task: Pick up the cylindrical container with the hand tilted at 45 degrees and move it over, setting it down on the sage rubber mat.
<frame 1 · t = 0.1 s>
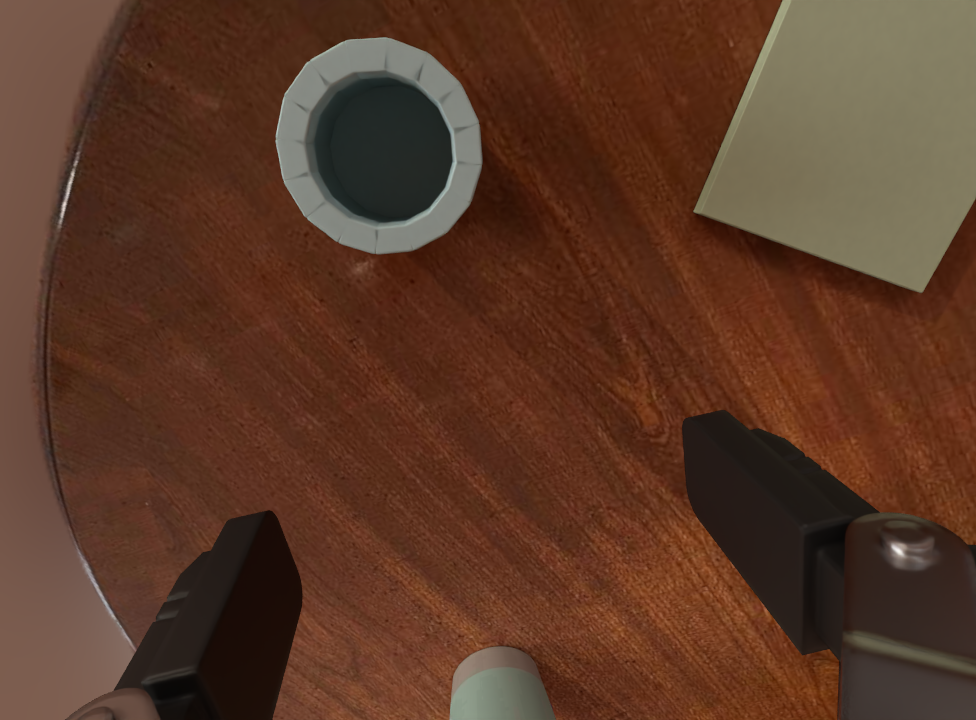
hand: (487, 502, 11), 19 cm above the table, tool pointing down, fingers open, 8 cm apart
mat: (904, 54, 27), on the table
coffee cup: (495, 676, 38), on the table
cylindrical container: (394, 153, 26), on the table
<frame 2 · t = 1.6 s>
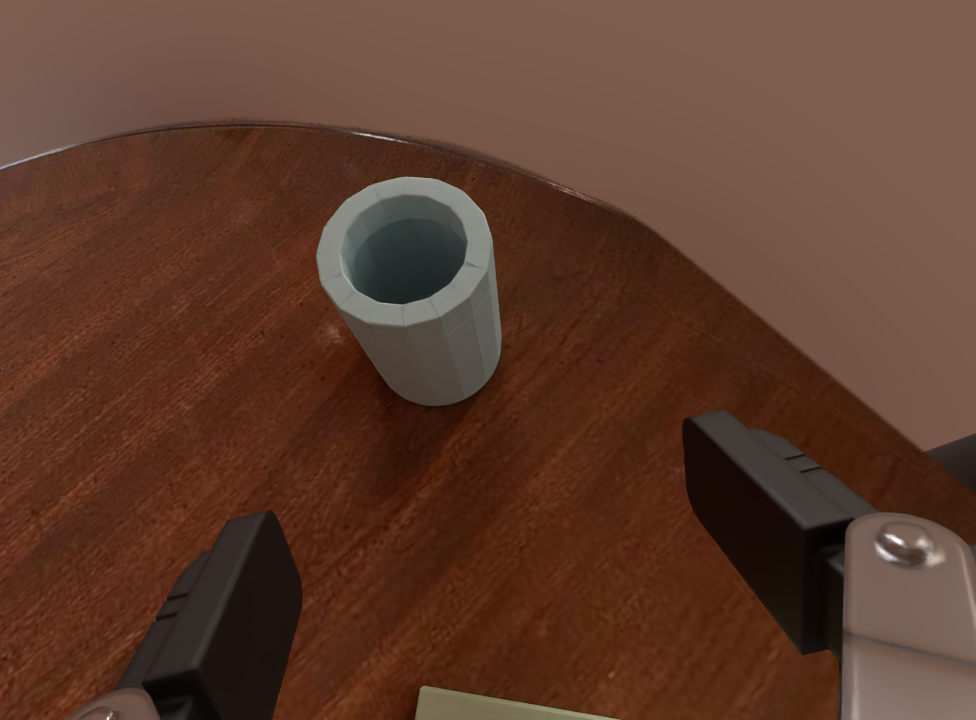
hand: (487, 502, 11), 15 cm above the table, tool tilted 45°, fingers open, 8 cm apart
cylindrical container: (438, 346, 29), on the table
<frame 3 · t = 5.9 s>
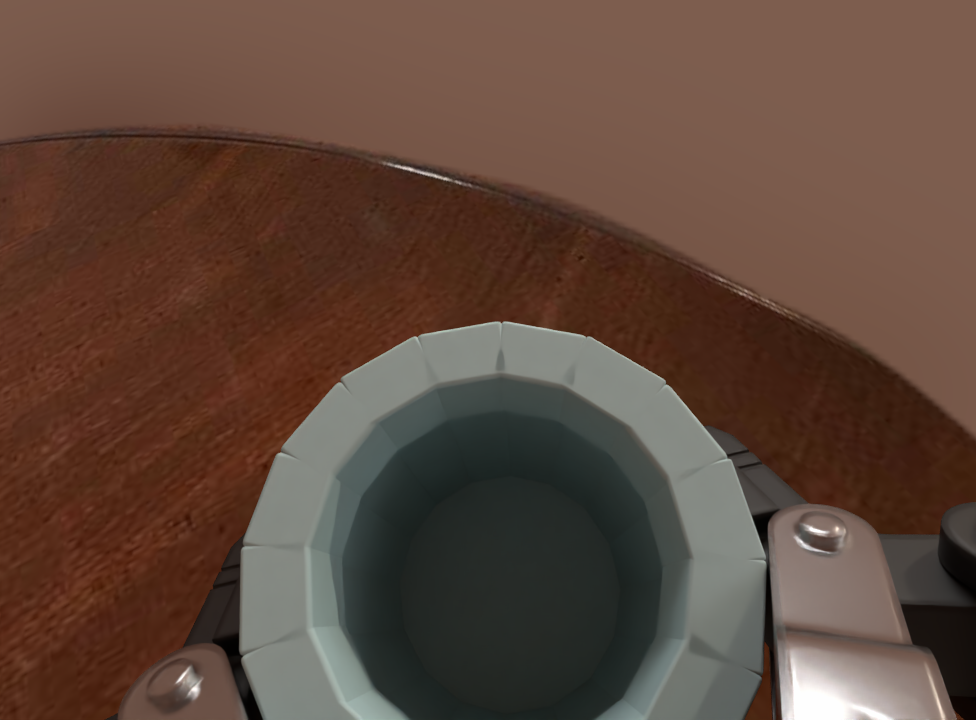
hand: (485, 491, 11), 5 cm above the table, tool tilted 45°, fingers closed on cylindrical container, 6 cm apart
cylindrical container: (509, 586, 15), on the table, touching gripper
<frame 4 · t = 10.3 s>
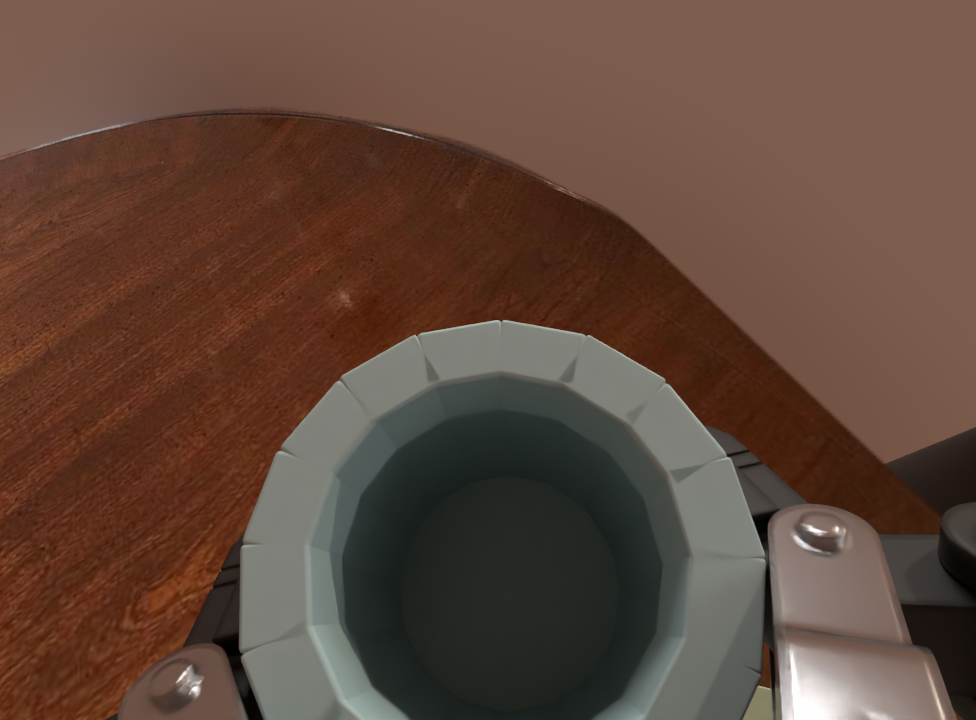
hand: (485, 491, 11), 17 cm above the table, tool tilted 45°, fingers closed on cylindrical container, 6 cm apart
cylindrical container: (508, 585, 15), point 12 cm above the table, touching gripper
when the fingers open (6 cm above the table, at t = 15.2 s): cylindrical container stays where it is, resting on mat.
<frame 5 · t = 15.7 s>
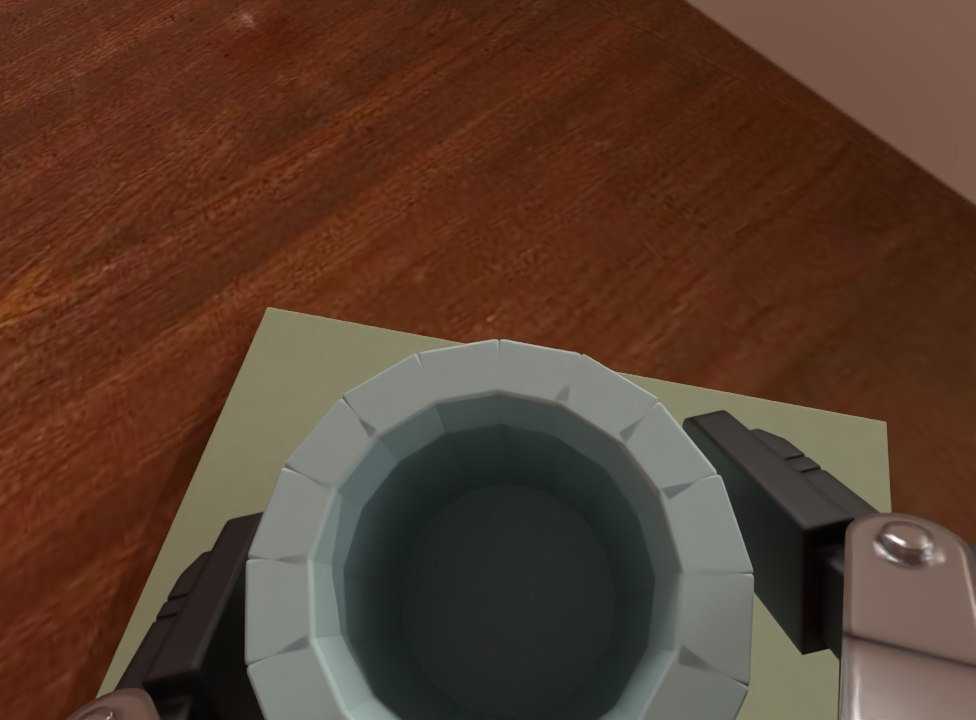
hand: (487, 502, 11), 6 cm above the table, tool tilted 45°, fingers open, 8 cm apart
mat: (508, 590, 16), on the table
cylindrical container: (507, 592, 15), point 1 cm above the table, touching mat
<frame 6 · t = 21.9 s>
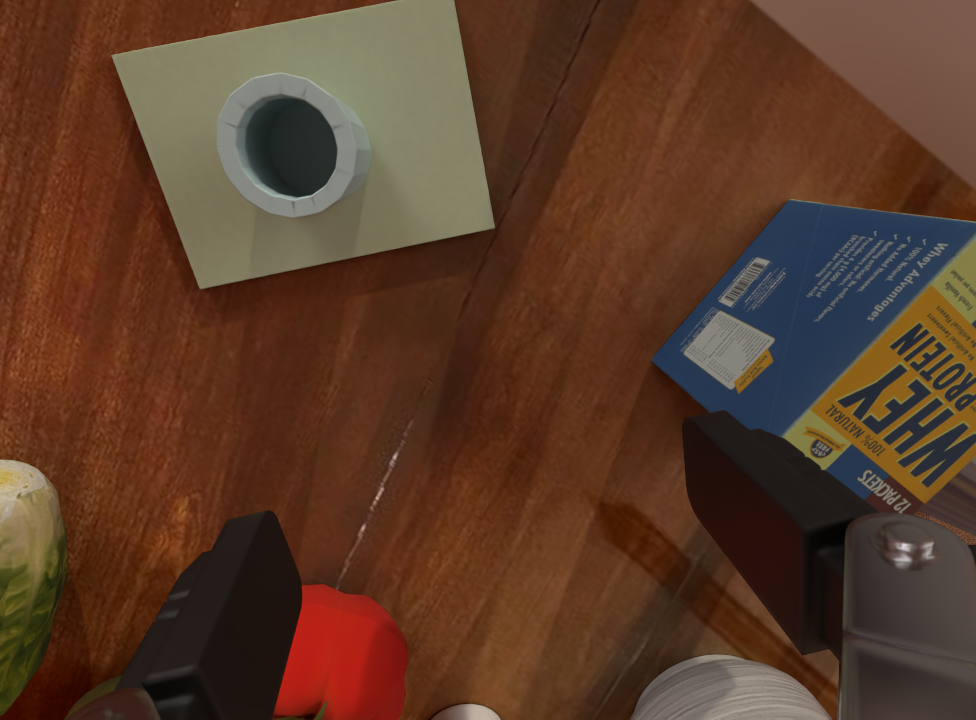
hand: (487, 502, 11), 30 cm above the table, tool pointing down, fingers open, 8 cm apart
mat: (320, 148, 36), on the table
lettuce: (19, 542, 43), on the table
fruit: (181, 683, 49), on the table
cylindrical container: (319, 150, 35), point 1 cm above the table, touching mat
decorative object: (925, 454, 50), on the table
tomato: (330, 620, 49), on the table
vase: (699, 704, 58), on the table
protein box: (759, 319, 44), on the table
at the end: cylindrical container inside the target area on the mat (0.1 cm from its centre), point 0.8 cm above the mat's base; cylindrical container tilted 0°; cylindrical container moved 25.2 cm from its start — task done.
